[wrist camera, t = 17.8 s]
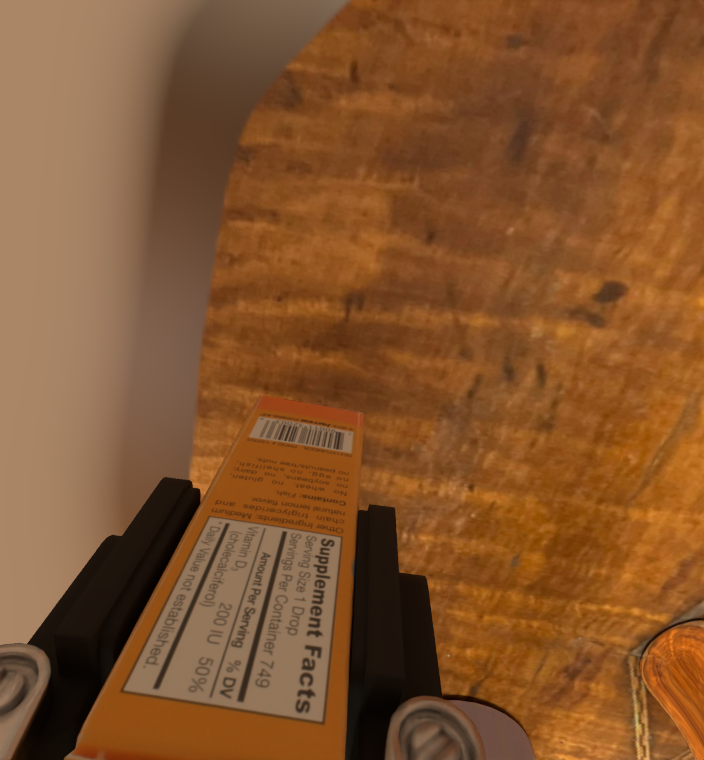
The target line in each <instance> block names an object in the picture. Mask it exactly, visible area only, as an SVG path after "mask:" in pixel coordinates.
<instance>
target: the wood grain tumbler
mask: <svg viewBox="0 0 704 760" xmlns="http://www.w3.org/2000/svg"><path fill="white" fill-rule="evenodd" d="M640 673H641V677H642V680H643V682H644V684H645V686H646V687H647V689H648V690H649V692H650V693H651V694H652V695H653V697H654V698H655V699H656V701H657V702H658V703H659V704H660V706H661V707H662V708H663V709H664V711H665V712H666V713H667V714H668V716H669V717H670V718H671V719H672V721H673V722H674V724H675V725H676V726H677V728H678V729H679V731H680V733H681V734H682V736H683V738H684V739H685V741H686V743H687V745H688V747H689V748H690V750H691V752H692V754H693V756H694V758H695V760H704V620H696V621H690V622H686V623H682V624H679V625H677V626H674V627H672V628H670V629H668V630H666V631H665V632H663V633H662V634H660V635H659V636H658V637H656V638H655V639H654V640H653V641H652V642H651V643H650V644H649V646H648V647H647V648H646V650H645V652H644V654H643V656H642V658H641V662H640Z"/></svg>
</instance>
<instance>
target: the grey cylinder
mask: <svg viewBox="0 0 704 760" xmlns="http://www.w3.org/2000/svg"><path fill="white" fill-rule="evenodd" d="M446 701H449V702H451V703H452V704H454V705H455V706H457V707H458V708H459V709H461V710H462V711H464V712H465V714H466V715H467V716H468V717H469V718H470V719H471V721H472V722H473V723H474V724H475V726H476V728H477V730H478V732H479V734H480V736H481V738H482V740H483V744H484V749H485V754H486V760H536V759H535V755H534V752H533V749H532V745H531V742H530V740H529V739H528V737H527V735H526V733H525V732H524V730H523V729H522V728H521V727H520V726H519V725H518V724H517V723H516V722H515V721H514V720H512V719H511V718H510V717H508V716H507V715H506V714H504V713H502V712H500V711H498V710H496V709H494V708H491V707H488V706H485V705H481V704H478V703H474V702H467V701H459V700H446Z"/></svg>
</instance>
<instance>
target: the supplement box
mask: <svg viewBox="0 0 704 760" xmlns="http://www.w3.org/2000/svg"><path fill="white" fill-rule="evenodd" d="M364 419H365V417H364V414H363V413H361V412H359V411H353V410H347V409H341V408H336V407H329V406H323V405H317V404H309V403H304V402H298V401H291V400H286V399H281V398H276V397H270V396H265V395H263V396H260V397H259V398H258V399H257V400H256V402H255V404H254V405H253V407H252V409H251V411H250V413H249V415H248V417H247V418H246V420H245V422H244V424H243V426H242V427H241V429H240V431H239V433H238V434H237V436H236V438H235V440H234V442H233V444H232V446H231V447H230V449H229V451H228V453H227V455H226V456H225V458H224V460H223V462H222V464H221V466H220V468H219V469H218V471H217V473H216V475H215V477H214V479H213V481H212V482H211V484H210V486H209V488H208V490H207V492H206V494H205V496H204V498H203V499H202V501H201V503H200V505H199V507H198V509H197V511H196V513H195V514H194V516H193V518H192V520H191V522H190V523H189V525H188V527H187V529H186V531H185V533H184V535H183V537H182V538H181V540H180V542H179V544H178V546H177V548H176V550H175V552H174V554H173V556H172V557H171V559H170V561H169V563H168V565H167V567H166V569H165V571H164V573H163V574H162V576H161V578H160V580H159V582H158V584H157V586H156V588H155V589H154V591H153V593H152V595H151V597H150V599H149V601H148V603H147V605H146V607H145V608H144V610H143V612H142V614H141V616H140V618H139V619H138V621H137V623H136V625H135V627H134V629H133V631H132V633H131V635H130V637H129V639H128V640H127V642H126V644H125V646H124V648H123V650H122V652H121V654H120V656H119V658H118V659H117V661H116V663H115V665H114V667H113V669H112V671H111V673H110V675H109V676H108V678H107V680H106V682H105V684H104V686H103V688H102V690H101V692H100V693H99V695H98V697H97V699H96V701H95V703H94V705H93V707H92V709H91V711H90V712H89V714H88V716H87V718H86V720H85V722H84V724H83V726H82V728H81V731H80V733H79V735H78V737H77V742H76V748H75V750H73V751H72V752H71V753H70V754H68V755H67V756H66V757H65V758H64V760H345V744H346V732H347V707H348V686H349V666H350V652H351V634H352V617H353V598H354V587H355V575H356V548H357V529H358V512H359V494H360V478H361V461H362V445H363V430H364Z"/></svg>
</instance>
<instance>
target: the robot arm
mask: <svg viewBox="0 0 704 760" xmlns="http://www.w3.org/2000/svg"><path fill="white" fill-rule="evenodd" d="M200 496H201V495H200V489H198V488H193V484H192V482H191V481H190V480H183V479H174V478H168V477H165V478H163V479H162V480H161V481H160V483H159V484H158V485H157V487H156V488H155V490H154V491H153V493H152V494H151V495H150V497H149V498H148V500H147V501H146V503H145V504H144V505H143V507H142V508H141V510H140V511H139V513H138V514H137V515H136V517H135V518H134V520H133V521H132V523H131V524H130V525H129V527H128V528H127V530H126V531H125V533H124V534H123V535H122V536H116V535H111V536H109V537H107V538H106V539H105V540H104V541H103V542H102V544H101V545H100V547H99V548H98V549H97V550H96V552H95V553H94V555H93V556H92V557H91V559H90V560H89V561H88V563H87V564H86V565H85V567H84V568H83V569H82V571H81V572H80V573H79V575H78V576H77V577H76V579H75V580H74V581H73V583H72V584H71V585H70V587H69V588H68V590H67V591H66V592H65V594H64V595H63V596H62V598H61V599H60V600H59V602H58V603H57V604H56V606H55V607H54V608H53V610H52V611H51V613H50V614H49V615H48V617H47V618H46V619H45V621H44V622H43V623H42V625H41V626H40V627H39V629H38V630H37V631H36V633H35V634H34V635H33V637H32V638H31V639H30V641H29V642H28V643H27V644H23V643H14V644H4V645H0V760H64V758H65V757H66V756H67V755H68V754H70V753H71V752H72V751H73V750H75V748H76V742H77V737H78V735H79V733H80V731H81V728H82V726H83V724H84V722H85V720H86V718H87V716H88V714H89V712H90V711H91V709H92V707H93V705H94V703H95V701H96V699H97V697H98V695H99V693H100V692H101V690H102V688H103V686H104V684H105V682H106V680H107V678H108V676H109V675H110V673H111V671H112V669H113V667H114V665H115V663H116V661H117V659H118V658H119V656H120V654H121V652H122V650H123V648H124V646H125V644H126V642H127V640H128V639H129V637H130V635H131V633H132V631H133V629H134V627H135V625H136V623H137V621H138V619H139V618H140V616H141V614H142V612H143V610H144V608H145V607H146V605H147V603H148V601H149V599H150V597H151V595H152V593H153V591H154V589H155V588H156V586H157V584H158V582H159V580H160V578H161V576H162V574H163V573H164V571H165V569H166V567H167V565H168V563H169V561H170V559H171V557H172V556H173V554H174V552H175V550H176V548H177V546H178V544H179V542H180V540H181V538H182V537H183V535H184V533H185V531H186V529H187V527H188V525H189V523H190V522H191V520H192V518H193V516H194V514H195V513H196V511H197V509H198V507H199V505H200ZM345 760H486V754H485V749H484V744H483V740H482V738H481V736H480V734H479V732H478V730H477V728H476V726H475V724H474V723H473V722H472V721H471V719H470V718H469V717H468V716H467V715H466V714H465V712H464V711H462V710H461V709H459V708H458V707H457V706H455V705H454V704H452V703H451V702H449V701H446V700H444V699H442V692H441V684H440V676H439V668H438V661H437V653H436V645H435V637H434V629H433V622H432V614H431V606H430V598H429V591H428V584H427V579H426V577H425V576H421V575H413V574H405V573H399V566H398V550H397V533H396V516H395V508H394V507H386V506H379V505H371V504H370V505H369V508H368V511H364V510H359V512H358V529H357V548H356V575H355V587H354V598H353V617H352V634H351V652H350V666H349V686H348V707H347V732H346V744H345Z"/></svg>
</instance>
